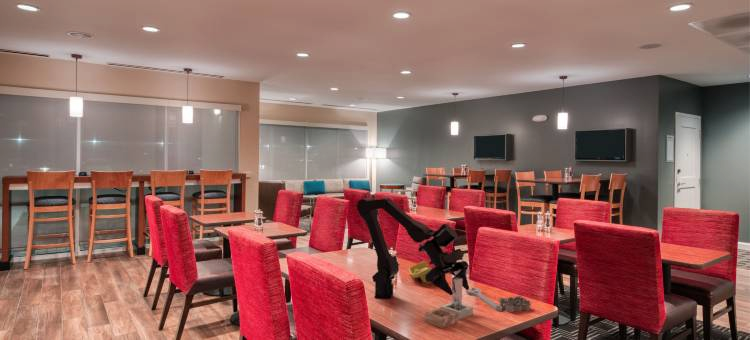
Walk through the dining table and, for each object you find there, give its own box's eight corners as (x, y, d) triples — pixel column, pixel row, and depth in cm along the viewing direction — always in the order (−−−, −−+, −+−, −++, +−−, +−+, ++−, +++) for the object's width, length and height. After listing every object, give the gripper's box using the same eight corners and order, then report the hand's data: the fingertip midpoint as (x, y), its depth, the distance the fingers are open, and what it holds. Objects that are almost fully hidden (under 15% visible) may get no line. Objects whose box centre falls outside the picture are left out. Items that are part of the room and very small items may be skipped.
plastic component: (407, 268, 215) (427, 259, 215) (414, 282, 215) (433, 273, 215) (412, 276, 195) (433, 266, 195) (419, 292, 195) (440, 282, 195)
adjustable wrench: (503, 312, 165) (504, 307, 165) (487, 313, 164) (487, 308, 164) (477, 291, 190) (477, 286, 190) (462, 291, 189) (462, 287, 188)
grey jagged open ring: (507, 313, 163) (508, 302, 163) (496, 306, 170) (496, 296, 170) (533, 311, 166) (533, 299, 166) (520, 304, 173) (521, 293, 173)
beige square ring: (442, 328, 147) (442, 319, 147) (424, 321, 153) (424, 312, 153) (457, 322, 153) (457, 313, 153) (440, 316, 158) (440, 307, 158)
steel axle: (451, 315, 159) (452, 279, 159) (451, 311, 163) (451, 276, 163) (461, 315, 159) (462, 280, 159) (461, 312, 163) (462, 277, 162)
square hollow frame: (458, 319, 155) (458, 312, 155) (440, 313, 161) (440, 306, 161) (472, 314, 161) (473, 307, 161) (454, 308, 167) (454, 301, 166)
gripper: (432, 245, 157) (457, 284, 149) (465, 238, 169) (490, 274, 162) (414, 263, 163) (438, 302, 155) (447, 256, 175) (470, 291, 168)
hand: (460, 292), depth 160 cm, fingers open, 9 cm apart
